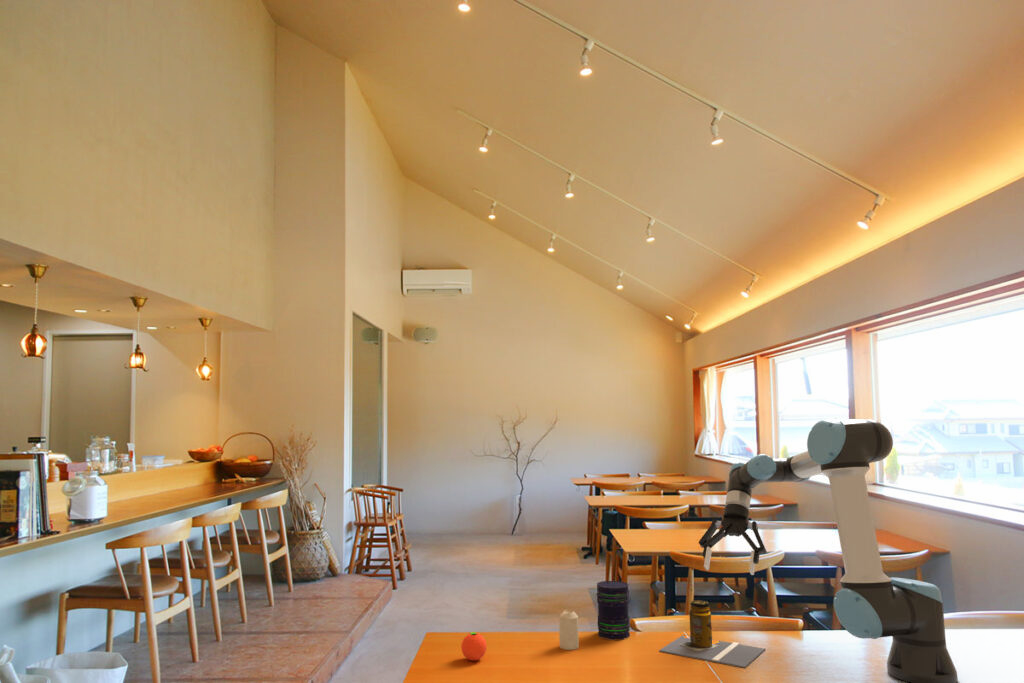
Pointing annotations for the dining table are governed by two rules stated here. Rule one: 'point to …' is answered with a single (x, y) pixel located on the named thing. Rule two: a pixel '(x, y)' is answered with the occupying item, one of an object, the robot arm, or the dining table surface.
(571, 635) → the candle
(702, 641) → the condiment
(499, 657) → the dining table surface
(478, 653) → the clementine
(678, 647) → the mat
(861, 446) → the robot arm
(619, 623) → the storage jar
